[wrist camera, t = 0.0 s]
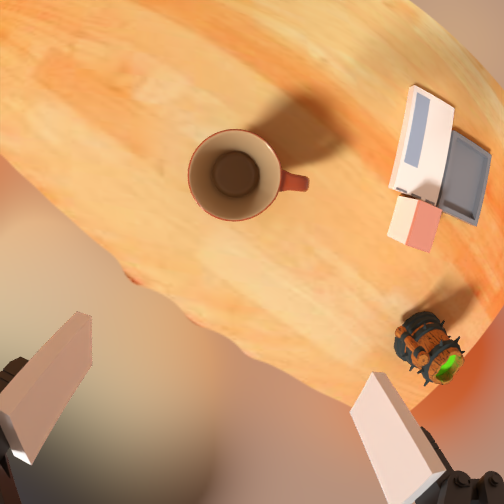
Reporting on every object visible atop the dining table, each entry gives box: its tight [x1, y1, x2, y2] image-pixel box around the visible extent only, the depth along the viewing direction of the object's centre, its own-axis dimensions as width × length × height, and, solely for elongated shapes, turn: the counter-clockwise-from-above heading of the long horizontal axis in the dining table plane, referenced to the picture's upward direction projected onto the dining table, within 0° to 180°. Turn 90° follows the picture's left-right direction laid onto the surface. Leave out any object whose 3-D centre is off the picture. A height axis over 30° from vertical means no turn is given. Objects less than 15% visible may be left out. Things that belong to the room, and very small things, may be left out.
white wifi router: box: [388, 85, 455, 206], centre depth 36 cm, size 16×8×2 cm, turn 166°
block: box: [387, 196, 442, 253], centre depth 37 cm, size 6×4×6 cm, turn 166°
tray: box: [433, 130, 492, 227], centre depth 38 cm, size 13×10×2 cm
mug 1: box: [188, 129, 309, 221], centre depth 32 cm, size 12×9×10 cm
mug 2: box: [394, 311, 465, 386], centre depth 39 cm, size 13×10×12 cm
